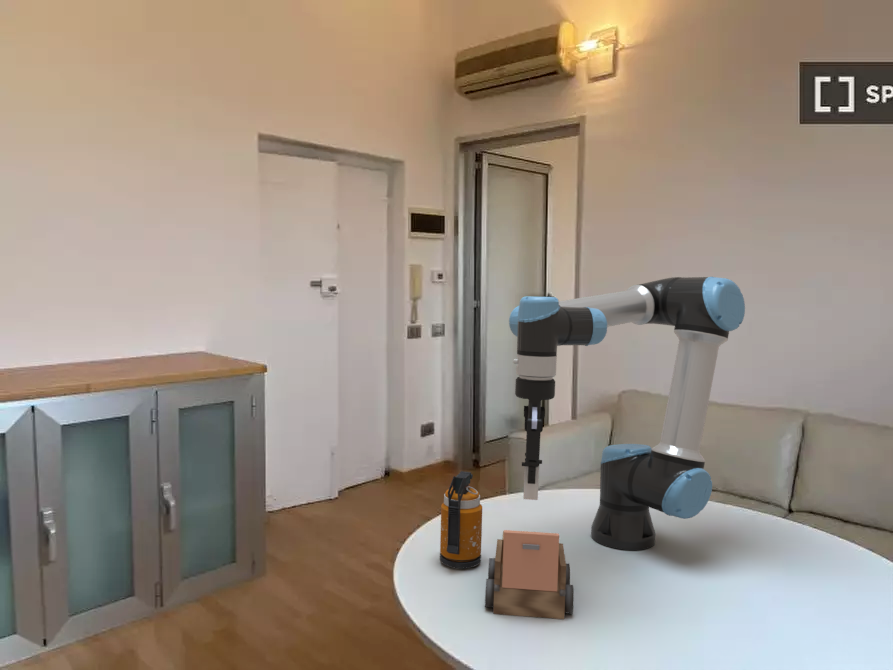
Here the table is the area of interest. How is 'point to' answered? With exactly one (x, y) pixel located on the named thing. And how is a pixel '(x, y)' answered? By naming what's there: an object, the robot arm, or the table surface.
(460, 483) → the canister
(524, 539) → the panel
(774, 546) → the table surface
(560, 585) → the truck
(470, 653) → the table surface
